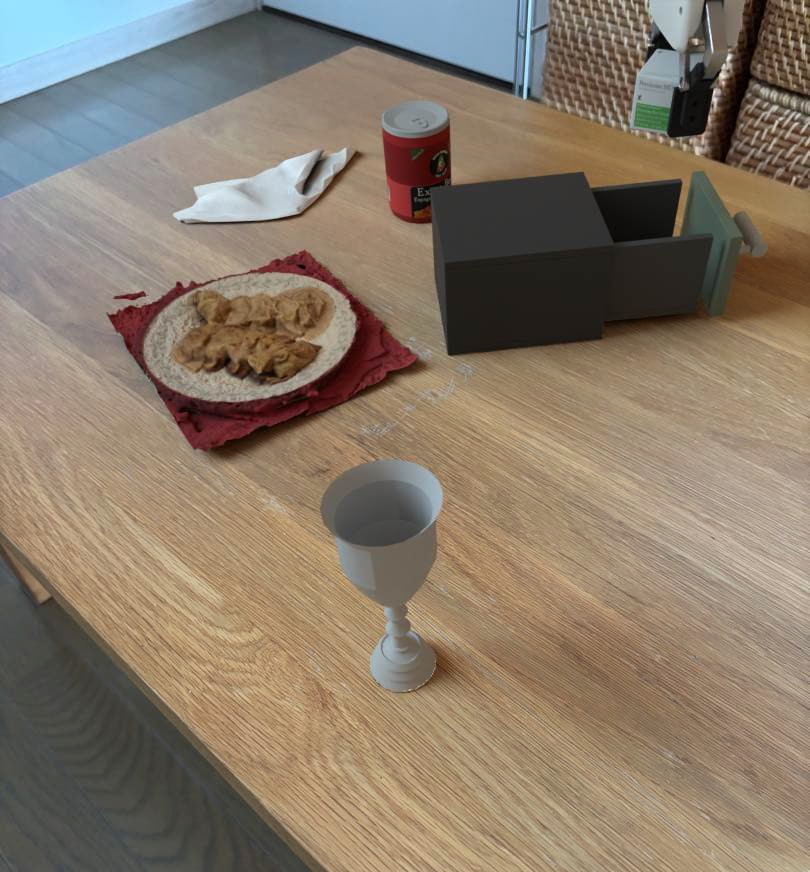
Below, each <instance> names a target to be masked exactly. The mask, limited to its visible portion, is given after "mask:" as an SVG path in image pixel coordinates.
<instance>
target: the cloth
mask: <svg viewBox="0 0 810 872" xmlns="http://www.w3.org/2000/svg"><path fill="white" fill-rule="evenodd" d="M357 151H358V150H357V148H354V147H351V146H346V147H343V149H341V150H339V151H338V152H334V153H330V154H327V155H323V153H324V152H325V149H324V147H321V148H316V149H314V150H311V151H309V152H308V153H305V154H301V155H297V156H295V157H291V158H288V159H285V160H283V161H282V162H281V163H280V164H278V165H277V166H276V167H271V168H268V169H265V170H263V171H261V172H260V173H258V174H257V175H254V176H251V177H245V178H238V179H237V178H236V179H230V180H229V179H228V180H221V181H216V182H211V183H205V184H201V185H197V186H194V187H193V191H194V193H195V196H196V198H197V200H196V201H195V202H194V204H193V205H192V206H189V207H186V208H184V209H181V210H179V211H178V210H177V211H176V212H173V214H172V216H173V218H175V219H176V220H177V221H179V222H181V221H182V222H184V223H185V224H193V223H194V224H195V223H229V222H230V223H233V222H249V221H251V222H252V221H255V222H256V221H267V220H273V219H280V218H284V217H290V216H294V215H299V214H301V213H303V212H304V211H305V210H306V209H307V208H309V206H311V205H312V204H313V203H314V202H316V200H318V198H319V197H320V196H322V193H324V191H325V190H326V189H327V187H328V186H329V185H330V184H331V182H332V181H333V179H334V178H335V177H336V176H337V174H339V173H340V172H341V171H342V170H343V169H344V168H345V166H346V165H347V164H348V162H349V161H350V160H351V159H352V157H353V156H354V155H355V154H356V152H357Z"/></svg>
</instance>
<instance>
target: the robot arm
mask: <svg viewBox="0 0 810 872" xmlns="http://www.w3.org/2000/svg"><path fill="white" fill-rule="evenodd" d="M745 2H746V0H648V8H649V14H650V17H651V19H652V23H651V25H650V28H649V30H648V36H647V40H648V41H647V42H648V44H649V45H647V47H646V56H645V62H644V65H645V64H646V63H647V61H648V60H649V59H650V57H651V56H652V55H653V54H654V52H655V51H656V50H657V49H663V50H671V51H677V52H679V87H674V90H673V96H672V102H671V108H670V114H669V120H668V126H667V134H668V135H667V136H668V137H669V138H670V139H675V138H682V137H686V136H693V137H694V136H695V137H696V136H701V135H704V134H705V132H706V130H707V126H708V121H709V115H710V112H711V109H710V106H711V107H712V103H711V101H712V102H713V97H714V91H715V89H716V88H717V85H718V78H719V77H720V74H721V73H722V68H723V66H724V65H725V63H726V61H727V59H728V55H729V50H730V49H733V48H734V47H735V46H736V44H737V42H738V40H739V36H740V32H741V31H740V30H741V25H742V20H743V14H744V10H745V9H744V8H745ZM694 39H703V42H704V43H701V44H692V45H690V40H694ZM696 55H704V56H703V58H702V59H703V61H702V62H699V63H697V64H696V65H695V66H694V68H693V69H692V70H691V72H690V56H696ZM709 111H710V112H709Z"/></svg>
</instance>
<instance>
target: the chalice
mask: <svg viewBox="0 0 810 872" xmlns="http://www.w3.org/2000/svg"><path fill="white" fill-rule="evenodd" d="M443 499H444V491H443V489H442V486H441V484H440V481H439V479H438V478H437V477H436V476H435V475H434V474H433V473H432V472H431V471H430V470H429V469H427V468H425V467H424V466H422V465H419V464H417V463H415V462H413V461H409V460H408V461H407V460H403V459H397V458H392V459H375V460H371V461H367V462H364V463H359V464H357V465H356V466H353V467H351V468H349V469H347V470H345V471H344V472H342V473H341V474H339V476H337V477H336V478H335V479H334V480H332V481H331V482H330V484H329V485H328V487H327V488H326V490H325V491H324V492H323V494H322V497H321V501H320V502H321V503H320V506H319V511H320V516H321V520H322V524H323V525H324V526H325V527H326V528H327V529H328V531H329V532H330V533H331V534H332V536H334V540H335V545H336V550H337V555H338V559H339V563H340V568H341V571H342V572H343V574H344V575H345V576H346V577H347V579H348V580H349V581H350V582H351V583H352V584H353V585H354V586H355V588H356V589H357V590H358V591H359V592H360V593H361V594H363V595H364V596H365V597H367V598H369V599H370V600H371V601H373V602H375V603H376V604H378V605H380V606H381V607H384V609H383V610H384V611H383V614H384V616H385V618H386V619H387V622H386V623H385V627H384V628H385V629H384V630H385V634H384V635H383V636H382V637H381V638H380V639H379V641H378V642H377V643H376V646H375V648H373V650H374V651H373V650H372V652H373V653H372V652H371V654H372V655H371V654H370V656H371V657H370V656H369V661H370V666H369V665H368V668H369V667H370V669H371V670H370V669H369V672H370V671H371V673H372V676H373V677H374V679H376V682H377V683H380V685H381V686H383V687H385V688H386V689H390V690H392V691H398V692H402V691H404V690H409V689H416V688H417V687H418V686H419V685H422V684H423V683H426V680H428V679H429V678H430V677H431V675H432V673H433V670H434V668H435V663H436V662H435V661H436V660H435V659H436V658H437V657H436V658H435V655H436V653H435V654H434V652H435V649H434V648H433V647H432V646H431V644H430V643H429V642H428V641H427V640H425V638H424V637H422V636H421V635H420V634H419V633H418V632H416V631H414V630H412V629H411V628H412V624H411V621H410V620H409V619H408V618H407V615H408V614H409V608H408V605H406V604H407V603H409V601H411V600H412V598H413V597H414V596H415V595H416V594H417V593H418V591H419V590H420V589H421V587H422V586H423V585H424V583H425V582H426V580H427V579H428V576H429V574H430V573H431V570H432V568H433V566H434V564H435V562H436V560H437V555H438V535H437V517H438V515H439V514H440V512H441V510H442V508H443V502H444V500H443ZM427 642H428V643H429V644H430V645H429V644H428V643H427ZM431 647H432V648H433V649H434V650H433V649H432V648H431ZM371 673H370V674H371ZM372 676H371V677H372ZM374 679H373V680H374ZM376 682H375V683H376ZM377 683H376V684H377ZM380 685H379V686H380ZM381 686H380V687H381ZM392 691H391V692H392Z"/></svg>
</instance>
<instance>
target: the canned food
mask: <svg viewBox="0 0 810 872" xmlns="http://www.w3.org/2000/svg"><path fill="white" fill-rule="evenodd" d="M381 131H382V133H381V134H382V135H381V136H382V145H383V157H384V169H385V177H386V187H387V189H386V190H387V198H388V205H389V208H390V210H391V213H392V214H393V215H394V216H395V217H396V218H398V219H400V220H402V221H404V222H408V223H414V224H423V223H430V222H432V214H431V194H430V188H431V187H441V186H450V185H452V150H451V148H452V147H451V146H452V145H451V117H450V113H449V110H448V109H447V108H446V106H443V105H442V104H439V103H438V102H433V101H427V100H409V101H404V102H399V103H397V104H394V105H392V106H390V107H389V108H387V109H386V110H385V111H384V112H383V113H382V116H381Z"/></svg>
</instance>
